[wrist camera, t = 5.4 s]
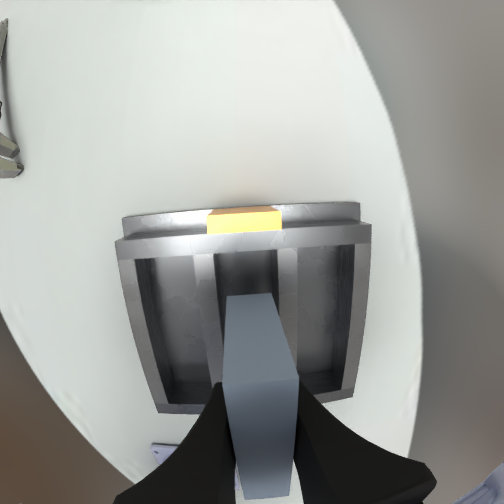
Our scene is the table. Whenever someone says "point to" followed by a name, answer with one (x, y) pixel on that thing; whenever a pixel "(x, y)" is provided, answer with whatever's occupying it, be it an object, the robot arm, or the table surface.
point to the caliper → (3, 144)
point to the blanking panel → (260, 395)
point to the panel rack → (245, 292)
